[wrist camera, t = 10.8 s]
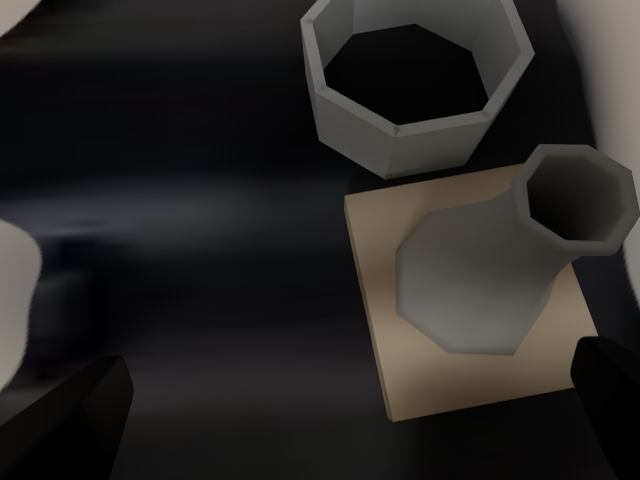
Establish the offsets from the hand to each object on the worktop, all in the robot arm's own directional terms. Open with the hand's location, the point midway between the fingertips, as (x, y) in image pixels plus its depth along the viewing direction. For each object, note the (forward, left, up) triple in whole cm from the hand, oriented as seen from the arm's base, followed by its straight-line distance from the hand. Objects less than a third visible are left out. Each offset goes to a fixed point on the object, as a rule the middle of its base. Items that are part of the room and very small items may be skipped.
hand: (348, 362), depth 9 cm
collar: (+16, -7, -14) cm, 22 cm away
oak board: (+3, -7, -14) cm, 15 cm away
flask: (+3, -7, -12) cm, 14 cm away
